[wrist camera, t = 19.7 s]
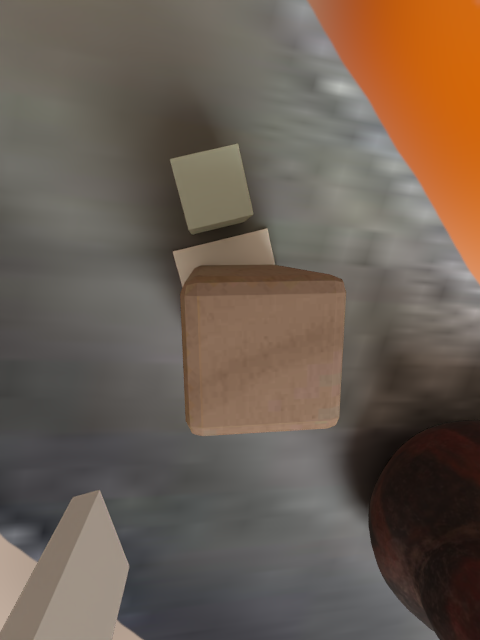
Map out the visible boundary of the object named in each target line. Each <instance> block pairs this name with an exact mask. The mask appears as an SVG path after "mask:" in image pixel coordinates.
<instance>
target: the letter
mask: <svg viewBox="0 0 480 640" xmlns="http://www.w3.org/2000/svg"><path fill="white" fill-rule="evenodd" d="M173 255H174V259H175V262H176V266H177V269H178V273H179V277H180V280H181V284H182V287H183V286H184V283H185V281H186V280H187V278H188V277H189V275H190V274H191V273H192V271H193V270H194V268H196V267H198V266H201V265H270V264H272V265H275V262H274V257H273V252H272V248H271V243H270V238H269V234H268V229H263V230H259V231H255V232H251V233H246V234H242V235H238V236H234V237H230V238H226V239H222V240H218V241H214V242H210V243H206V244H201V245H197V246H193V247H189V248H185V249H181V250H177V251H173Z"/></svg>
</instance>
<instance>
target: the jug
mask: <svg viewBox="0 0 480 640" xmlns="http://www.w3.org/2000/svg"><path fill="white" fill-rule="evenodd" d="M369 531H370V538H371V544H372V548H373V551H374V555H375V558H376V561H377V564H378V567H379V569H380V572H381V574H382V576H383V578H384V579H385V581H386V583H387V585H388V586H389V587H390V589H391V590H392V591H393V593H394V594H395V595H396V597H397V598H398V599H399V600H400V601H401V602H402V603H403V604H404V606H405V607H406V608H407V609H408V610H409V611H410V612H411V613H412V614H414V615H415V616H416V617H417V618H418V619H419V620H421V621H422V622H423V623H424V624H425V625H426V626H428V627H429V628H430V629H431V630H433V631H435V633H436V634H437V636H438V638H439V639H440V640H480V420H466V421H456V422H450V423H445V424H441V425H438V426H434V427H431V428H429V429H426V430H424V431H422V432H420V433H419V434H417V435H415V436H414V437H412V438H411V439H409V440H408V441H407V442H406V443H405V444H404V445H402V446H401V447H400V448H399V449H398V450H397V451H396V452H395V454H394V455H393V456H392V458H391V459H390V460H389V462H388V463H387V465H386V466H385V468H384V469H383V471H382V473H381V475H380V476H379V479H378V481H377V483H376V485H375V487H374V490H373V493H372V496H371V501H370V506H369Z"/></svg>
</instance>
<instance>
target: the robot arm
mask: <svg viewBox="0 0 480 640" xmlns="http://www.w3.org/2000/svg"><path fill="white" fill-rule="evenodd" d="M128 570H129V564H128V562H127V559H126V557H125V554H124V551H123V549H122V546H121V544H120V541H119V538H118V536H117V533H116V531H115V528H114V526H113V523H112V520H111V518H110V515H109V513H108V510H107V508H106V505H105V502H104V500H103V497H102V495H101V492H100V490H97V491H94V492H90V493H87V494H83V495H79V496H76V497H73V498H72V500H71V502H70V503H69V505H68V507H67V509H66V511H65V513H64V515H63V516H62V518H61V520H60V522H59V524H58V526H57V528H56V530H55V531H54V533H53V535H52V537H51V539H50V541H49V543H48V544H47V546H46V548H45V550H44V552H43V554H42V556H41V557H40V559H39V561H38V563H37V565H36V567H35V569H34V570H33V573H32V574H31V576H30V578H29V580H28V582H27V583H26V585H25V587H24V589H23V591H22V593H21V595H20V597H19V598H18V600H17V602H16V604H15V606H14V608H13V610H12V611H11V613H10V615H9V617H8V619H7V621H6V623H5V624H4V626H3V628H2V630H1V632H0V640H112V636H113V633H114V628H115V624H116V620H117V616H118V612H119V608H120V603H121V599H122V595H123V591H124V587H125V582H126V578H127V574H128Z"/></svg>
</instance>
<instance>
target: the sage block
mask: <svg viewBox="0 0 480 640" xmlns="http://www.w3.org/2000/svg"><path fill="white" fill-rule="evenodd" d="M170 162H171V166H172V169H173V173H174V177H175V181H176V185H177V188H178V192H179V196H180V200H181V204H182V207H183V211H184V215H185V219H186V223H187V226H188V230H189V231H190V233H191V234H192V235H193V234H197V233H201V232H205V231H210V230H214V229H218V228H222V227H226V226H230V225H234V224H239V223H243V222H245V221H246V220H247V219H248V218H250V217H251V216H252V215H253V210H252V205H251V200H250V196H249V191H248V187H247V182H246V178H245V173H244V169H243V164H242V159H241V155H240V150H239V146H238V144H234V145H229V146H225V147H220V148H216V149H212V150H207V151H203V152H199V153H194V154H190V155H186V156H181V157H177V158H172V159H170Z"/></svg>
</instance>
